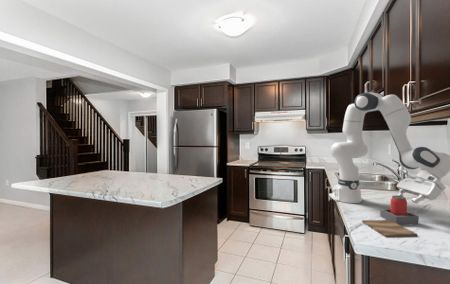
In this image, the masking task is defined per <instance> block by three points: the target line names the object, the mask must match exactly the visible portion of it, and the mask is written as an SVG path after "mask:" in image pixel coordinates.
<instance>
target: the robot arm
mask: <svg viewBox="0 0 450 284" xmlns="http://www.w3.org/2000/svg"><path fill="white" fill-rule="evenodd" d="M408 111H409V110H408V108H407V107H406V105H405V104H404V102H403V101H402V100H401V99H400V97H398V96H397V95H396V94H388V95H385V96H384V94H382V93H377V92H363V93H360V94H358V95H357V96H356V97H355V99H354V103H350V104H348V106H347V108H346V110H345V114H344V118H343V124H342V133H343V134H344V135H345V136H346V137H345V138H346V141H340V142H339V141H338V142H335V143H332V145H331V147H330V154H331V156H332V157H333V158H334V159H335V160H336V162H337V164H338V165H337V166H338V170H339V171H338V172H339V178H338V179H337V184H336V185H334V186H333V187H332V189H331V193H328V196H330V198H331V199H332V200H333V201H336V202H341V203H346V204H359V203H360V204H361V202H362V201H364V199H363V198H362V193H361V192H362V189H361V187H360V180H359V168H358V166H357V165H356V164H355V163H354V160H353V159H358V158H362V157H365V156H366V155H367V154H368V150H369V149H368V146H367V144H366V143H365V142H364V139H363V127H364V120H365V116H366V114H367V113H372V112H380V113H381V115H382V117H383V118H384V121H385V122H386V124H387V127H388V129H389V132H390V135H391V138H392V140H393V142H394V145H395V147H396V149H397V151H398V156H399V163H400V164H401V166H402V167H403V168H405V169H408V170H416V169H419V171H418V172H417V173H415V175H414V176H413V177H412V176H408V177H405V178H403V179H401V180H400V182H398V183H397V184H396V188H398V190H399V191H398V193H397V194H396V196H402V197H404V194H405V193H407V194H410V195H414V196H417V197H413V198H412V199H411V201H412V203H414V204H419V202H421V201H424V200H425V199H428V200H430V201H434V200H436V199H437V198H438V197H439V196H440V195H441V194H442V192H443V191H445V190H446V186H445V185H444V184H443V183H442V181H441V180H442V178H444V177H445V176H447V175H448V173H450V154H447V153H446V152H438V151H435V150H432V149H430V148H428V147H426V146H419V147H416V148H412V146H411V143H410V141H409V138H408V137H407V136H408V135H407V130H408V129H409V126H410V125H411V122H412V116H411V113H410V112H408Z"/></svg>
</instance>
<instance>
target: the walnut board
mask: <svg viewBox="0 0 450 284" xmlns="http://www.w3.org/2000/svg"><path fill="white" fill-rule="evenodd" d="M361 222H363V224H364V225H365V224H366V226H367V225H368V226H367V227H369V228H370V227H371V228H370V229H372V230H373V229H374V231H375V232H377V233H378V234H380V235H381V236H383V237H385V238H391V237H392V238H395V237H396V238H397V237H398V238H400V237H402V238H403V237H418V233H416V232H415V231H412V230H411V229H408V228H406V227H405V226H403V225H399V224H397V223H395V222H393V221H391V220H386V219H377V220H376V219H374V220H373V219H372V220H371V219H369V220H366V219H365V220H361Z"/></svg>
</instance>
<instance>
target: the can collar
mask: <svg viewBox="0 0 450 284" xmlns="http://www.w3.org/2000/svg"><path fill="white" fill-rule="evenodd" d="M379 210H380V211H379V212H380V214H379V215H380V217H381V218H382V219H383V220H391V221H393V222H395V223H397V224H399V225H401V226H403V225H405V224H413V225H419V224H420V222H419V218H420V217H419V215H416V214H414V213H412V212H409V211H407V216H396V215H394V214H392V213H391V208H380V209H379ZM405 226H406V225H405Z"/></svg>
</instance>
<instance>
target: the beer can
mask: <svg viewBox="0 0 450 284" xmlns="http://www.w3.org/2000/svg"><path fill="white" fill-rule="evenodd" d="M390 209H391V213H392V214H394V215H396V216H407V212H408V201H407V198H406V197H405V196H403V197H402V196H397V195H391V198H390Z"/></svg>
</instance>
